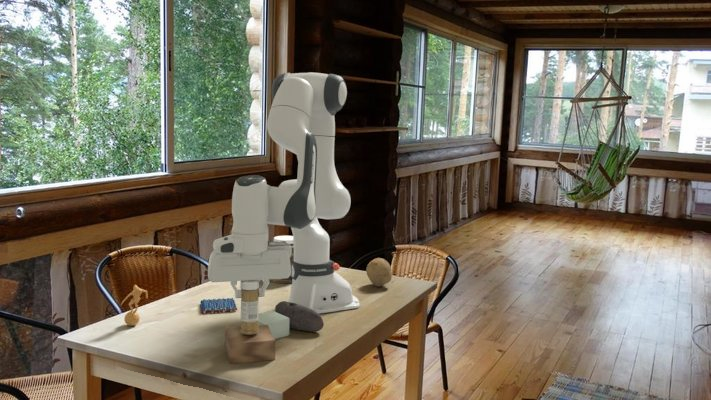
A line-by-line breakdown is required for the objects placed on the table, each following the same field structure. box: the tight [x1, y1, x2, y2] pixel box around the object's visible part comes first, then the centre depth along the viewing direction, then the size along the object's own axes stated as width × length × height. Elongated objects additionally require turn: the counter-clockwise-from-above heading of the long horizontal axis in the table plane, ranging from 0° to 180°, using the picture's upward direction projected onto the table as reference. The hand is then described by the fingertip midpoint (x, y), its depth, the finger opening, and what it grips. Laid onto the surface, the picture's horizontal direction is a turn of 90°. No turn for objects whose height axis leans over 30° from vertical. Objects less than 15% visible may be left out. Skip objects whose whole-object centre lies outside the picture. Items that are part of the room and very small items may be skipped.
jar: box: [269, 235, 294, 284], centre depth 225 cm, size 12×12×15 cm
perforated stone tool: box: [274, 300, 324, 333], centre depth 177 cm, size 15×5×7 cm, turn 61°
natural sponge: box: [365, 257, 393, 288], centre depth 220 cm, size 9×9×10 cm
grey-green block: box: [258, 310, 290, 340], centre depth 172 cm, size 8×8×5 cm
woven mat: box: [200, 297, 238, 315], centre depth 193 cm, size 10×11×2 cm
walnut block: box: [224, 325, 276, 365], centre depth 159 cm, size 11×11×5 cm
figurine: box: [120, 284, 149, 327], centre depth 174 cm, size 8×6×12 cm
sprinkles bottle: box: [240, 280, 260, 335], centre depth 157 cm, size 5×5×13 cm
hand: (249, 296), depth 157 cm, fingers closed on sprinkles bottle, 4 cm apart
